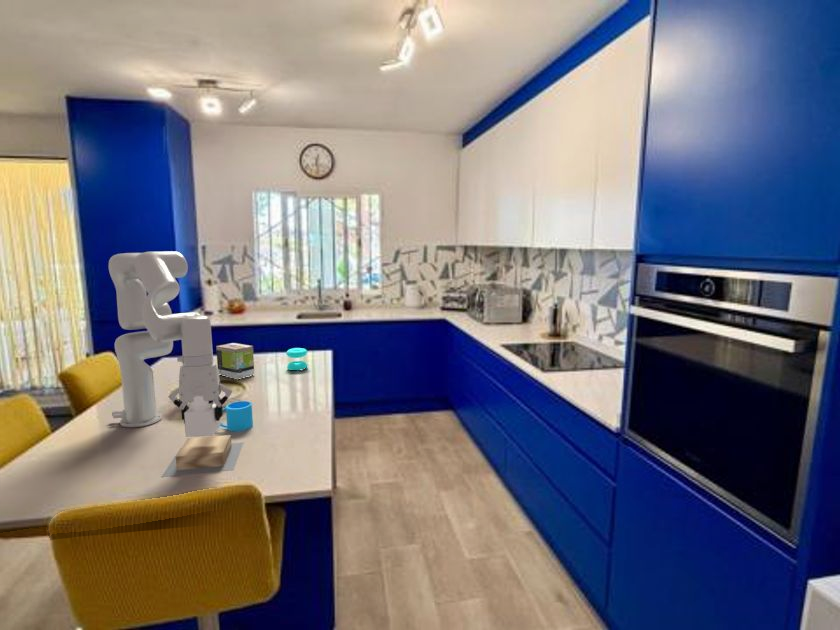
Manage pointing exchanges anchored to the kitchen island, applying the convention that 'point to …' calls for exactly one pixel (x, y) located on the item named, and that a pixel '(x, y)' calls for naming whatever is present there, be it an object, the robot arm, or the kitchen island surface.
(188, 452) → the oak block
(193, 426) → the medicine bottle
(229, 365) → the tea box
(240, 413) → the mug
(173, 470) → the grey square mat
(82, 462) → the kitchen island surface
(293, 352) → the turquoise hourglass
